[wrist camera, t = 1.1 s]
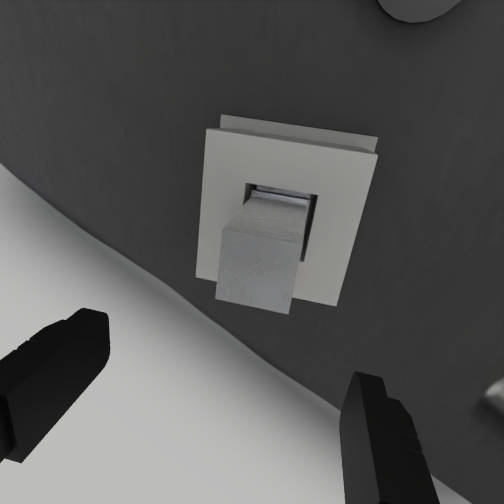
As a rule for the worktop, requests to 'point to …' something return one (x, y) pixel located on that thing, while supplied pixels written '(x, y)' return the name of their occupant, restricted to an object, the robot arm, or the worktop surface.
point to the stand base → (290, 178)
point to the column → (263, 249)
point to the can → (417, 9)
